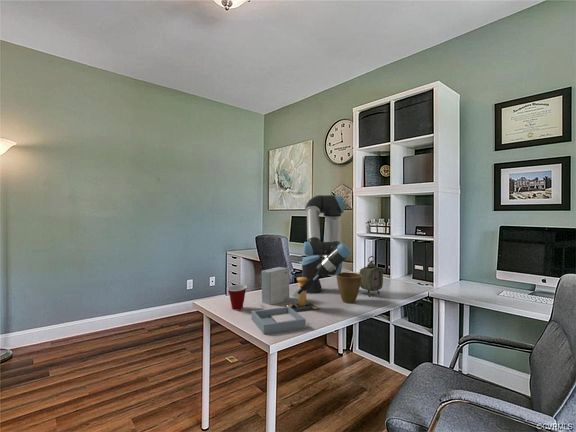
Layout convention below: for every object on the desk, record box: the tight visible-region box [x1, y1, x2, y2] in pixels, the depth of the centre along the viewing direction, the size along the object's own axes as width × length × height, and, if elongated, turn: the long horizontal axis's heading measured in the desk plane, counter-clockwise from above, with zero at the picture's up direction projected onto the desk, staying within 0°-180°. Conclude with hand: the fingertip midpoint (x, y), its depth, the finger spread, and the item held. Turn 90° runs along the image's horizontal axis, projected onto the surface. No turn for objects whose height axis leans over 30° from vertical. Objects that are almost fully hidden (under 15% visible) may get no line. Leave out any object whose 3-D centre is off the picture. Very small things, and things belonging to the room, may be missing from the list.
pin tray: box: [251, 306, 306, 335], centre depth 146 cm, size 20×20×4 cm
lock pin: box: [296, 276, 308, 307], centre depth 165 cm, size 6×6×16 cm
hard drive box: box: [261, 266, 290, 306], centre depth 177 cm, size 16×8×20 cm, turn 135°
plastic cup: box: [226, 284, 248, 311], centre depth 167 cm, size 11×11×12 cm
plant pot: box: [335, 271, 362, 304], centre depth 182 cm, size 15×15×16 cm
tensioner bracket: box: [284, 302, 321, 313], centre depth 165 cm, size 16×12×3 cm
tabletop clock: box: [358, 255, 384, 297], centre depth 197 cm, size 14×9×25 cm, turn 131°
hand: (295, 295), depth 166 cm, fingers closed on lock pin, 4 cm apart
